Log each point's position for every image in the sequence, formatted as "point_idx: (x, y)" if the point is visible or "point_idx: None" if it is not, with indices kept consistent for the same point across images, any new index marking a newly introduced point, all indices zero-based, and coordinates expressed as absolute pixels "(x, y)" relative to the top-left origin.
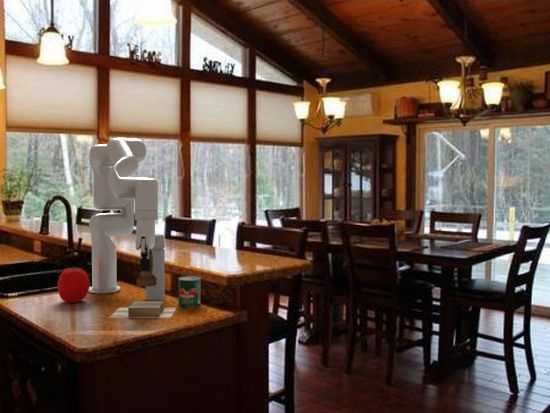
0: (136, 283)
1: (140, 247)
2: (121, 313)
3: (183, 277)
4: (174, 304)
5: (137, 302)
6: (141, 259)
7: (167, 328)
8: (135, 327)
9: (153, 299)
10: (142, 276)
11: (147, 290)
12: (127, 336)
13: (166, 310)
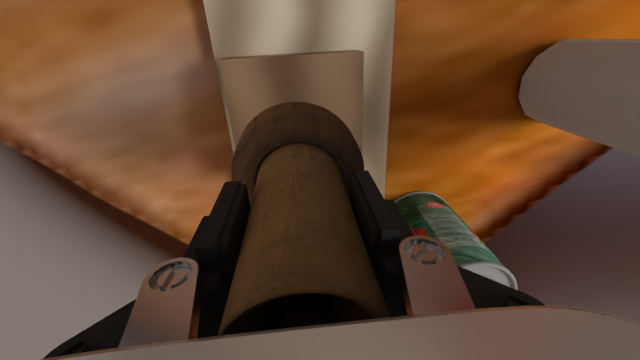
0: (274, 106)
1: (467, 310)
2: (280, 5)
3: (502, 272)
4: (474, 167)
5: (330, 75)
6: (200, 258)
7: (166, 213)
8: (144, 113)
9: (525, 86)
10: (260, 168)
11: (575, 59)
12: (24, 117)
13: None
